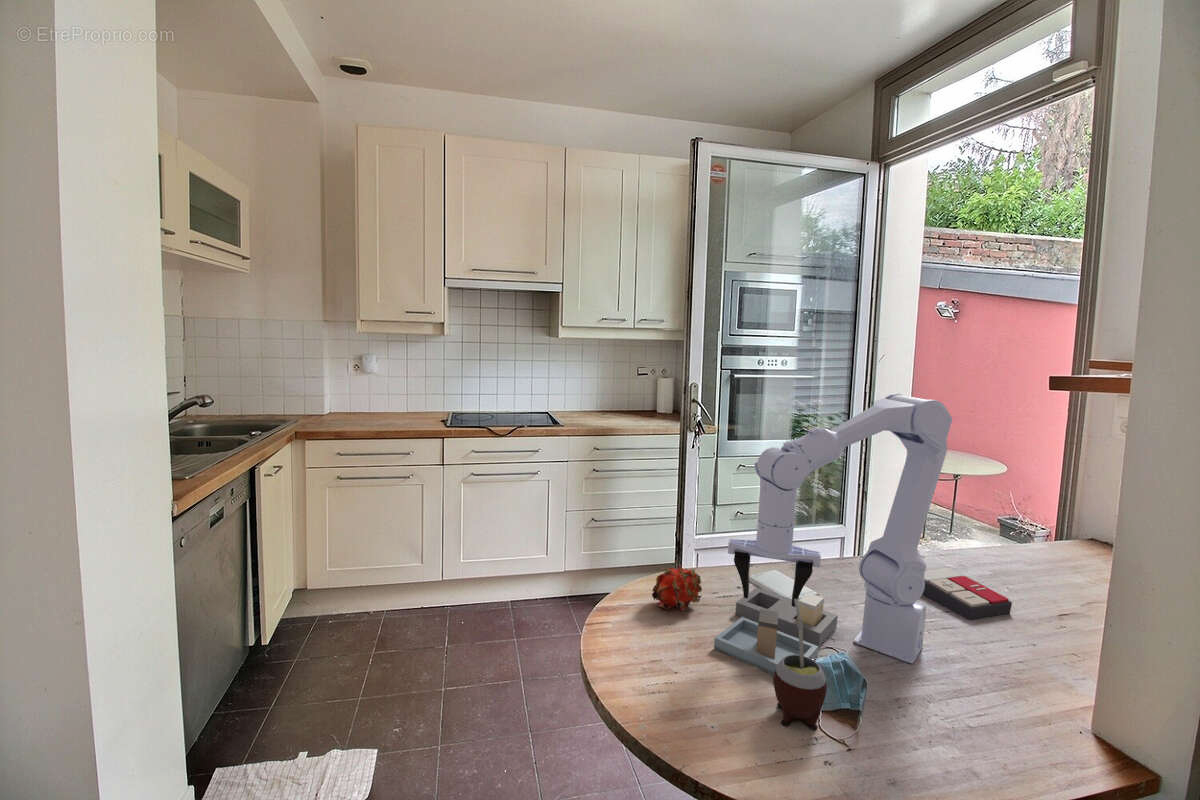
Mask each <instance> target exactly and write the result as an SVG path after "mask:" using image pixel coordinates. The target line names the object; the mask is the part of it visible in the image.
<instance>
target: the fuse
mask: <svg viewBox="0 0 1200 800" xmlns="http://www.w3.org/2000/svg"><path fill="white" fill-rule="evenodd" d="M824 602H825V597H822V596H820V595H819V596H817V595H814V594H811V593H807V594H806V595H805V596H803V597H802V598H801V599H800V600H799V602H798V604H799V608H800V612H801V618H802V621H803V623H806V624H809V625H812V626H814V627H816V626H817V625H818V624H819V623H820V622H821V621H822V615H823V610H824V604H825V603H824ZM797 620H798V616H797Z"/></svg>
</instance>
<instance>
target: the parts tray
mask: <svg viewBox="0 0 1200 800" xmlns="http://www.w3.org/2000/svg"><path fill="white" fill-rule="evenodd" d="M757 636H758V623H757V622H754V621H751V620H749V619H746V618H744V617H740V618H738V619H737V620H735V621H734V622H733V623H732V624H731V625H729V626H728V627H726V628H725V629H724V630H723V631H722V632H720V633H719V634H717V636H715V637H714V642H713V643H714V644H713V649H714V650H716V651H719V652H720V653H722V654H725V655H727V656H729V657H732V658H734V659H737V660H739V661H740V662H743V663H746V664H747V665H750V666H752V667H755V668H757V669H759V670H760V671H761V670H762V671H763V672H766V673H768V674H770V675H773V676H774V673H775V670H776V667H777V665H778V663H779V662H780V660H781V659H783V658H784V657H786V656H788V655H800V654H799V639H798V638H795V637H793V636H790V635H788V634H785V633H782V632H780V631H777V638H776V650H775V659H772V658H768V657H766V656H763V655H761V654H758V653H756V648H757ZM818 653H819V647H818V646H816V645H814V644H811V643H808V642H806V641H803V656H805V657H808V658H810V659H814V658H816V659H818Z"/></svg>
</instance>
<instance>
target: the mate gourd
mask: <svg viewBox="0 0 1200 800" xmlns="http://www.w3.org/2000/svg"><path fill="white" fill-rule="evenodd" d="M794 602H795V607H796V611H797V616H798V621H797V624H798V628H799V654H800V655H788V656H786V657H784V658H783V659H781V660H780V662H779V663H778V665H777V667H776V670H775V673H774V675H773V677H772V678H773V679H772V684H773V688H774V689H773V690H774V693H775V697H776V700H777V703H776V707H777V708H779V709H780V710H781V711H782V715H783V719H782V720H781V721H780V722H781V723H780V724H781V726H783V727H784V728H787V727H789V726H790V725H792V724H794V723H796V722H799V723H801V724H802V725H803V726H805V727H807V728H808V729H810V730H812V731H813V732H816V731H817V730H818V725H817V722H818V720H819V717H820V714H821V712H822V707H823V705H824V702H825V699H826V696H827V690H828V685H827V677H826V676H825V673H824V670H823V668H822V667H821V665H820V664H818V663H817V662H816V660H815V661H814V660H812V659H810V658H808V657H805V656H803V631H802V628H803V621H802V618H801V612H800V608H799V604H798V600H797V599H794Z"/></svg>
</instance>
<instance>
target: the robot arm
mask: <svg viewBox="0 0 1200 800" xmlns="http://www.w3.org/2000/svg"><path fill="white" fill-rule="evenodd" d="M953 420H954V419H953V417H952V415H951V413H950V412H949V410H948V408H947V407H946V406H945V405H944V404H943V403H942V402H941V401H939V400H936V399H925V398H920V397H919V398H918V397H914V396H907V395H903V394H901V393H891V394H888V395H887V396H885V397H883V398H880V399H877V400H876V401H874V404H873V405H872V406H871V407H870V406H869V407H868V408H867V409H865V410H863V411H861V412H860V413H859V414H856V415H855V416H853V417H851V418H849V419H848V420H846V421H845V422H843V423H841V424H839V425H838V426H836V427H834V428H832V429H831V430H829V429H827V428H825V427H818V428H817V427H811V428H809V429H807V433H806V434H805V435H802V436H800V437H798V438H795V439H794V440H792V441H790V440H788V441H785V442H783V443H782V444H783V445H782V446H781V448H780V447H769V448H766V449H764V451H762V453H761V454H760V455H759V457H758V459H757V462H754V470H755V473H756V474H757V476H758V477H759V498H758V513H757V527H756V539H734V538H730V539H729V540H728V545H727V554H730V555H734V556H733V557H734V558H733V562H734V565H735V567H736V570H737V573H738V574H739V575H738V576H739V579H740V582H741V585H742V592H743V597H744V598H747V599H748V594H749V593H750V581H749V576H750V567H751V566H750V565H751V556H752V557H759V558H765V559H771V560H778V561H783V562H784V561H785V562H790V563H795V571H794V587H793V593H792V606H793V607H795V602H794V599H797V600H798V598H799V595H800V593H801V591H802V589H803V587H804V586H805V585H806V584H807V582H808V580H809V579H810V578H811V576H812V574H813V567H814V568H821V557H822V556H821V552H820V551H816V550H811V549H807V548H803V547H800V546H796V545H794V544H793V541H794V528H795V517H796V515H795V514H796V503H797V490H798V488H800V486H801V485H802V484H803V483H804V482H805V479H806V478H807V476H808V475H810V474H811V473H812V472H814V471H816V470H818V469H820V468H822V467H824V466H826V465H828V464H831V463H832V462H834V461H836V460H838V459H839V458H840V456H841V454H842V450H843V449H844V448H846V447H849V446H851V445H853V444H856V443H859V442H860V441H862V440H865V439H867V438H870V437H872V436H875V435H877V434H878V433H881V432H883V431H885V432H886V431H887V432H891V433H892V434H893V435H894V436H895V437H896V438H898V439H899V441H900V442H901V443H902V445H903V446H904V447H905V449H906V451H907V455H906V459H905V461H904V465H903V468H902V472H901V475H900V477H899V482H898V484H897V485H898V486H897V488H896V492H895V495H894V498H893V502H892V505H891V508H890V511H889V514H888V515H889V516H888V519H887V522H886V524H885V528H884V532H883V535H882V537H881V536H880V537H879V538H876V539H874V540H871V541H870V542H869V543H870V544H869V546H868V549H867V551H866V552H865V554H864V555H863V556H862V558H861V559H860V561H859V565H858V572H859V576H860V577H861V578H862V580H864V585H863V586H864V588H865V597H864V598H865V599H864V608H863V609H864V610H863V618H862V625H861V626H862V627H861V630H860V632H859V633H858V634H857V635H856V637H855V638H854V639H853V642H854V644H857V645H860V646H862V647H865V648H868V649H871V650H873V651H876V652H879V653H881V654H884V655H886V656H887V655H888V656H890V657H892V658H895V659H897V660H899V661H904V662H906V663H908V664H914V662H915V661H916V659H917V657H918V655H919V653H920V651H921V650H922V648H923V647H924V635H925V634H924V633H925V625H926V624H925V623H926V616H927V609H926V608H927V607H926V606H925V605H923V604H920V603H918V602H917V601H918V600H919V599H920V598H921V597H922V596H923V595H922V594H923V591H924V588H925V580H924V573H925V571H926V568H927V564H926V562H925V560H924V558H923V557H922V555H921V553H920V551H919V549H918V547H919V543H920V540H921V537H922V534H923V532H924V531H923V530H924V527H925V523H926V521H927V518H928V514H929V510H930V508H931V505H932V500H933V498H934V495H935V491H936V489H937V485H938V481H939V479H940V474H941V472H942V468H943V465H944V463H945V458H946V455H947V451H948V435H949V431H950V429H951V425H952V422H953Z"/></svg>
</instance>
